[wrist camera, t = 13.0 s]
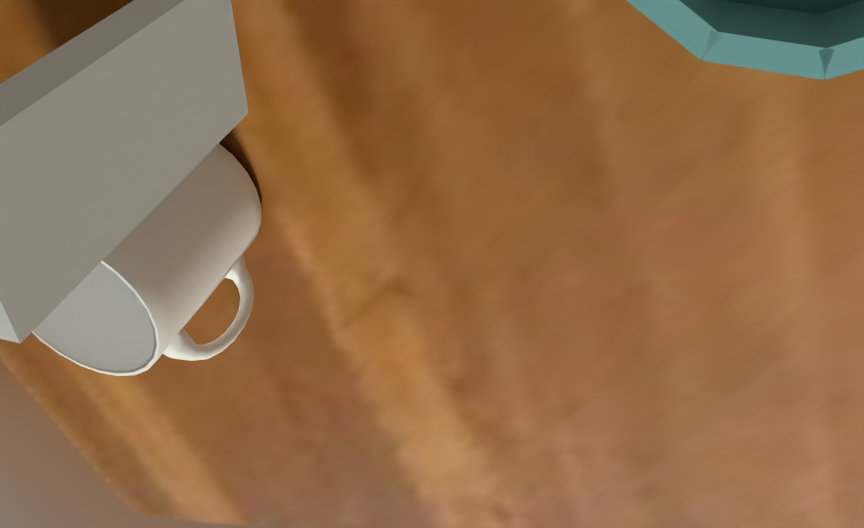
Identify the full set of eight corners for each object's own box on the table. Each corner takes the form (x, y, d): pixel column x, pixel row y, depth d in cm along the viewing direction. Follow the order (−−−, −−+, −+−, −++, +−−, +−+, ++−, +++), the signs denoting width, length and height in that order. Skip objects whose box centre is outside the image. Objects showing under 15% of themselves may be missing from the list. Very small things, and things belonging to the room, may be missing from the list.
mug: (151, 88, 45) (8, 196, 36) (326, 209, 46) (229, 341, 37) (113, 192, 51) (-17, 306, 42) (268, 295, 52) (173, 426, 44)
